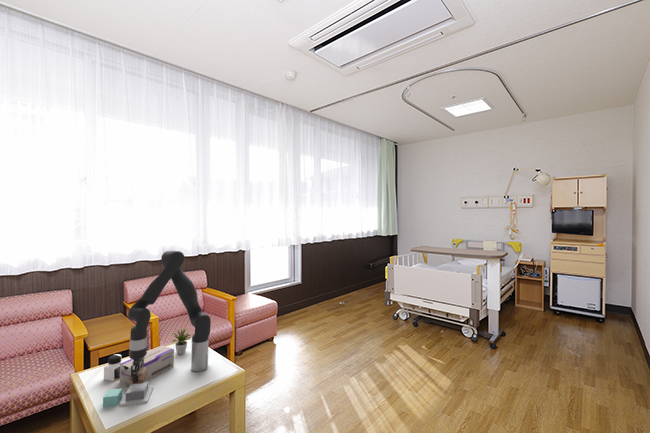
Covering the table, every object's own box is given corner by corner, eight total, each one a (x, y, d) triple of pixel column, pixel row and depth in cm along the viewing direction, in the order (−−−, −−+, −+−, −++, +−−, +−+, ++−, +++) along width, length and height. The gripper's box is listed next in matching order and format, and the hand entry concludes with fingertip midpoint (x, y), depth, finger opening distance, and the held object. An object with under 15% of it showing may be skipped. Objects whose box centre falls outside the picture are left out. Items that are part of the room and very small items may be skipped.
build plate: (153, 388, 159) (153, 379, 159) (147, 402, 148) (147, 392, 148) (127, 391, 156) (127, 382, 156) (119, 406, 144) (119, 396, 144)
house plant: (175, 361, 187) (176, 335, 186) (163, 354, 194) (163, 329, 194) (196, 352, 199) (196, 328, 198) (183, 346, 206) (184, 322, 206)
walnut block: (146, 376, 155) (146, 367, 155) (143, 383, 150) (143, 373, 149) (133, 378, 154) (133, 368, 153) (129, 384, 148) (129, 374, 148)
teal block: (122, 398, 151) (122, 388, 150) (117, 405, 145) (117, 395, 145) (108, 399, 149) (108, 389, 149) (102, 407, 143) (103, 397, 143)
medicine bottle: (114, 381, 164) (114, 360, 163) (103, 379, 165) (103, 358, 165) (125, 374, 171) (125, 353, 170) (114, 372, 172) (115, 352, 172)
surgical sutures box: (132, 388, 158) (132, 368, 158) (119, 383, 163) (119, 363, 163) (173, 366, 181) (174, 349, 181) (161, 362, 186) (162, 345, 185)
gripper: (142, 352, 145) (141, 386, 146) (150, 339, 159) (149, 370, 159) (124, 354, 143) (123, 388, 144) (134, 340, 157) (133, 372, 157)
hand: (137, 379), depth 151 cm, fingers closed on walnut block, 6 cm apart
